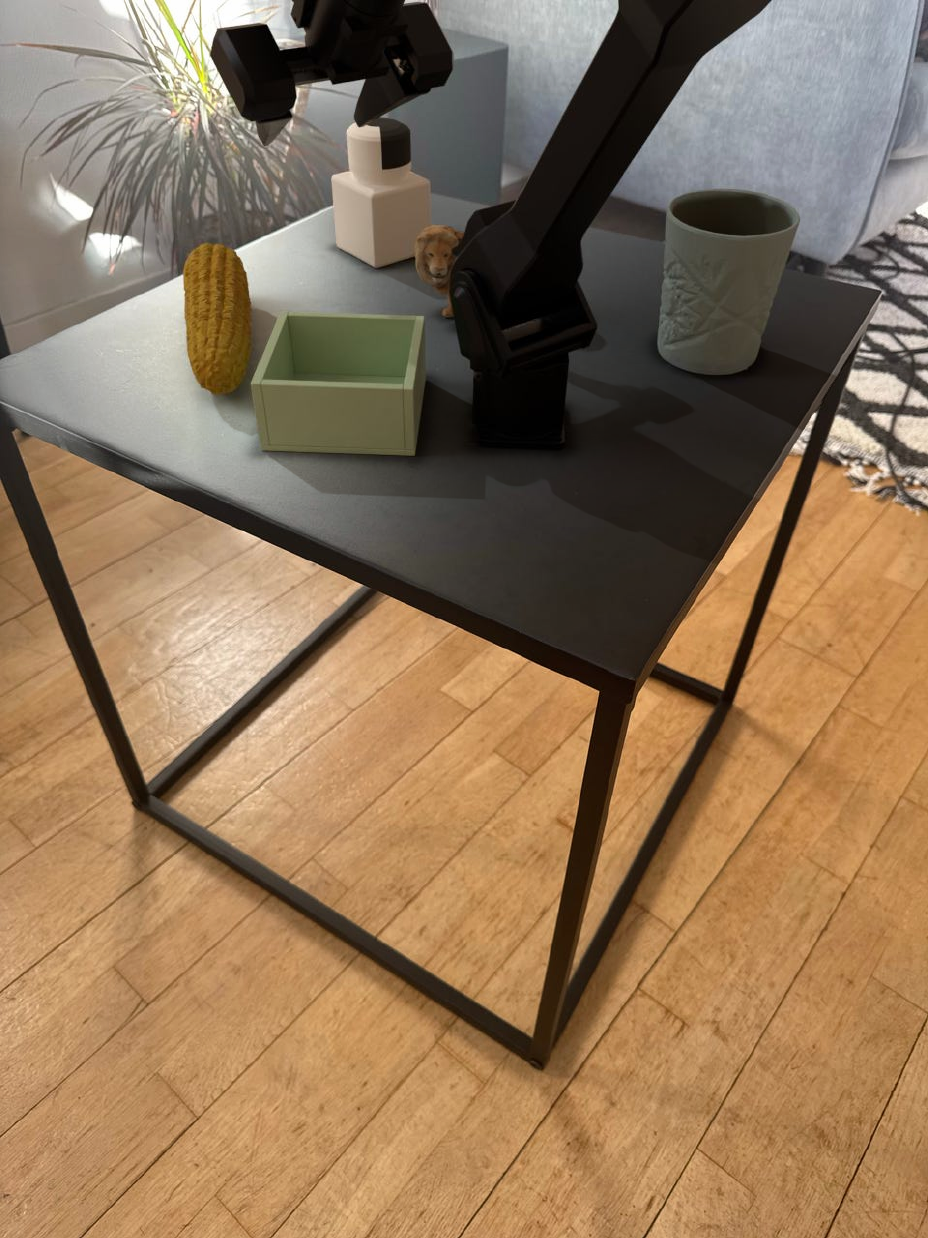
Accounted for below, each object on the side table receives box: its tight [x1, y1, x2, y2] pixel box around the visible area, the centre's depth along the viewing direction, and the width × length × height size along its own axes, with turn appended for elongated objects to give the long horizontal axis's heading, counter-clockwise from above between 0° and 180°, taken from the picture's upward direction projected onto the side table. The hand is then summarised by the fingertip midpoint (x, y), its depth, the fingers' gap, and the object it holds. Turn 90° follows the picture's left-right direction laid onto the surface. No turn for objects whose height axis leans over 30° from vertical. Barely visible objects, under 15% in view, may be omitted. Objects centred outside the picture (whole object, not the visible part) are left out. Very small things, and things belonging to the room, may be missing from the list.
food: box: [182, 241, 253, 396], centre depth 79 cm, size 21×6×6 cm, turn 13°
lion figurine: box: [414, 224, 464, 319], centre depth 83 cm, size 15×5×9 cm, turn 116°
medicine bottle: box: [330, 116, 432, 269], centre depth 93 cm, size 7×7×12 cm
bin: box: [250, 310, 427, 457], centre depth 72 cm, size 11×11×6 cm
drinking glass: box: [657, 188, 801, 376], centre depth 78 cm, size 10×10×12 cm
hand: (311, 131), depth 80 cm, fingers open, 9 cm apart
